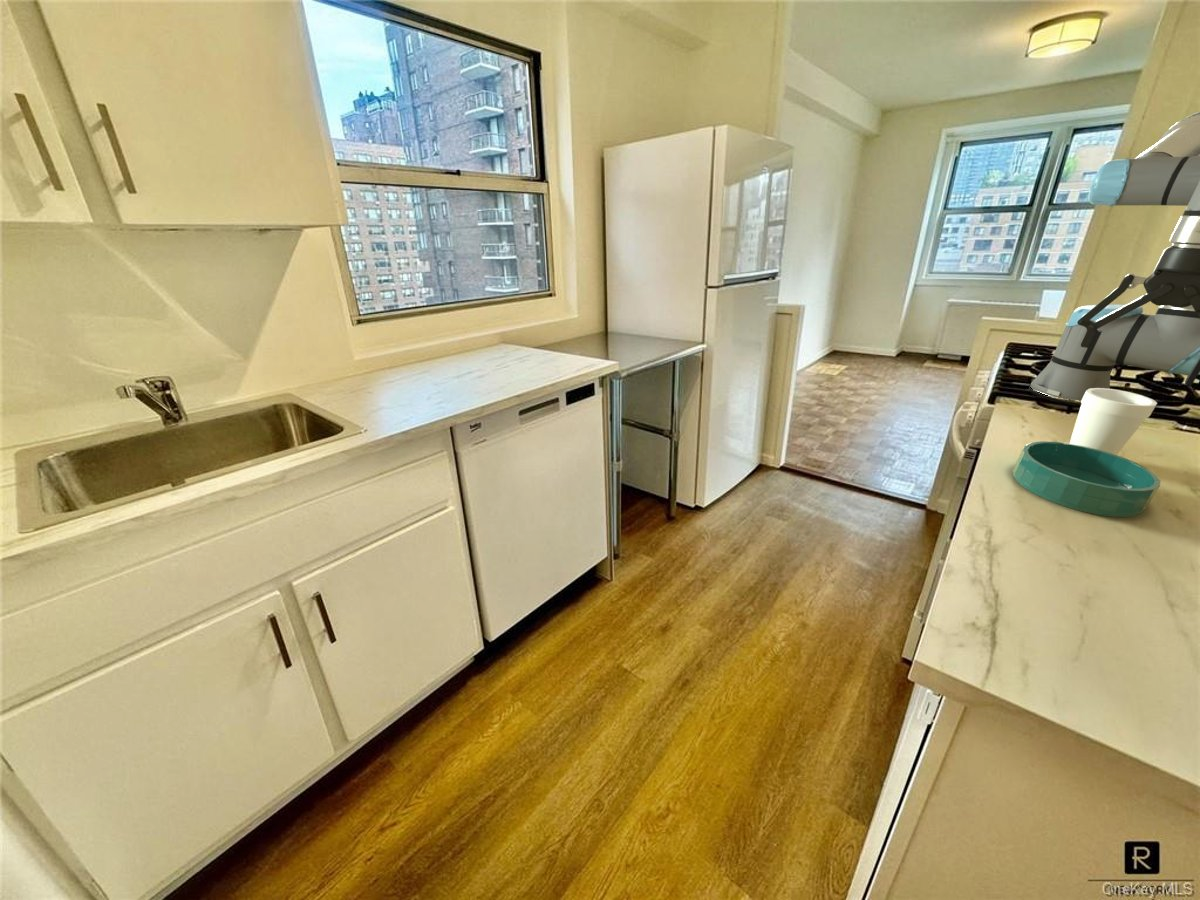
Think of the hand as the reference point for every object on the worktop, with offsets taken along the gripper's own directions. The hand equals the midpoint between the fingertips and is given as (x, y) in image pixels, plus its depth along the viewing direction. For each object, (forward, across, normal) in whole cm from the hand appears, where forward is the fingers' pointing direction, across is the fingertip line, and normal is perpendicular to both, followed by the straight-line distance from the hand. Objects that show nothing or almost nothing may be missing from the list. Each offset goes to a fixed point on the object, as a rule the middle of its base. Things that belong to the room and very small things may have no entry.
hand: (1132, 374), depth 87 cm
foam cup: (+18, 0, 0) cm, 18 cm away
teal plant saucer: (+18, 0, -17) cm, 24 cm away
